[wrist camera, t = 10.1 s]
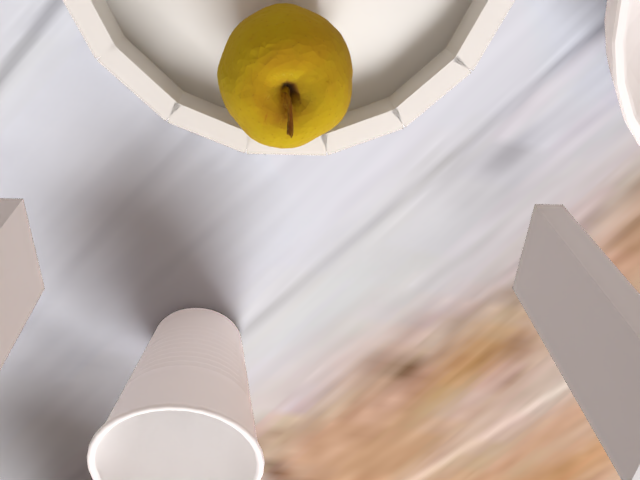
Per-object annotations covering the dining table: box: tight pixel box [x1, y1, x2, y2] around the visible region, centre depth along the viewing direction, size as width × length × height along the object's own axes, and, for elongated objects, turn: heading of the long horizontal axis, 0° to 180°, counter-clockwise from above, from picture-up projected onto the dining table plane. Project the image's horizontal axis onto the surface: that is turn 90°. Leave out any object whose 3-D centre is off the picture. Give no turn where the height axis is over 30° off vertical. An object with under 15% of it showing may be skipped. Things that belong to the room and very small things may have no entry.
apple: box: [217, 3, 353, 149], centre depth 28 cm, size 6×6×8 cm
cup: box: [87, 308, 264, 480], centre depth 39 cm, size 10×10×11 cm
